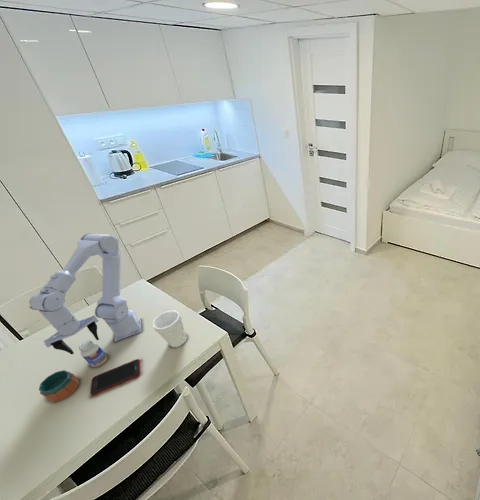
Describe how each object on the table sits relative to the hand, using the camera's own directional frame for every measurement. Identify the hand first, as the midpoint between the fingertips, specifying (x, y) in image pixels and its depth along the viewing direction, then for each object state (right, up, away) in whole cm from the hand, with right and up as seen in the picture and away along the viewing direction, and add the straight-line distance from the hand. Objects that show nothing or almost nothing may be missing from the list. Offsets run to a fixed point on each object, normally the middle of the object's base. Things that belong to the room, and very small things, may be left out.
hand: (85, 345), depth 105 cm
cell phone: (+12, -12, -1) cm, 17 cm away
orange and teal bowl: (-4, -14, -4) cm, 15 cm away
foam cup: (+27, -2, +12) cm, 30 cm away
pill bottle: (+1, -8, +5) cm, 10 cm away
